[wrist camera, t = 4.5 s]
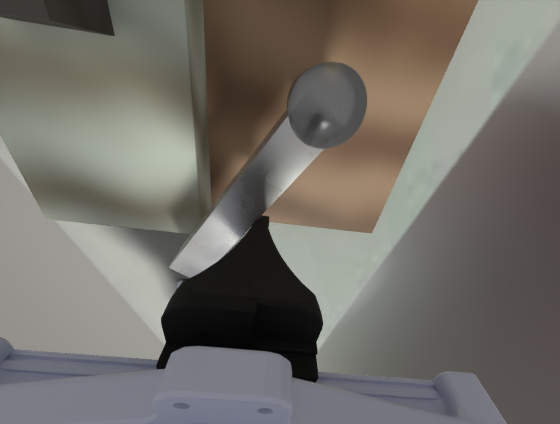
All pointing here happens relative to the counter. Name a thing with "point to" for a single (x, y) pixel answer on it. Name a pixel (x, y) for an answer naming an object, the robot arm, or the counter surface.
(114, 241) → the counter surface
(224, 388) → the robot arm
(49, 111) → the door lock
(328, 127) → the bar
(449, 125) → the counter surface
